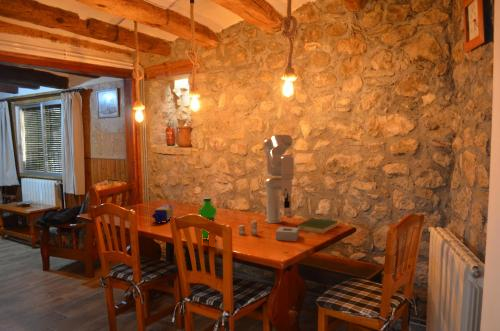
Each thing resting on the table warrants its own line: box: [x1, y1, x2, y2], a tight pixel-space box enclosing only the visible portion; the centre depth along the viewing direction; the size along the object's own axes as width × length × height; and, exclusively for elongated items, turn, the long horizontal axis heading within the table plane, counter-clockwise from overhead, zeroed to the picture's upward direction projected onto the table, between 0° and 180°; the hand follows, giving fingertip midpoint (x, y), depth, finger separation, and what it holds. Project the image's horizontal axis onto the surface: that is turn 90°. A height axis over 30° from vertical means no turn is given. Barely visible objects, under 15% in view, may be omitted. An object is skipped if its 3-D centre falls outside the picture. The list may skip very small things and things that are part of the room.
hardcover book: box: [296, 217, 339, 234], centre depth 250 cm, size 25×19×4 cm
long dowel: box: [283, 194, 292, 217], centre depth 225 cm, size 4×4×14 cm
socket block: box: [275, 226, 300, 242], centre depth 226 cm, size 12×12×5 cm
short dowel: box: [238, 224, 246, 236], centre depth 237 cm, size 4×4×5 cm
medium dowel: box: [250, 220, 258, 236], centre depth 235 cm, size 4×4×8 cm
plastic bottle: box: [198, 197, 217, 239], centre depth 224 cm, size 10×10×25 cm
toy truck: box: [151, 204, 174, 224], centre depth 278 cm, size 10×25×10 cm, turn 179°
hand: (287, 206), depth 225 cm, fingers closed on long dowel, 4 cm apart
